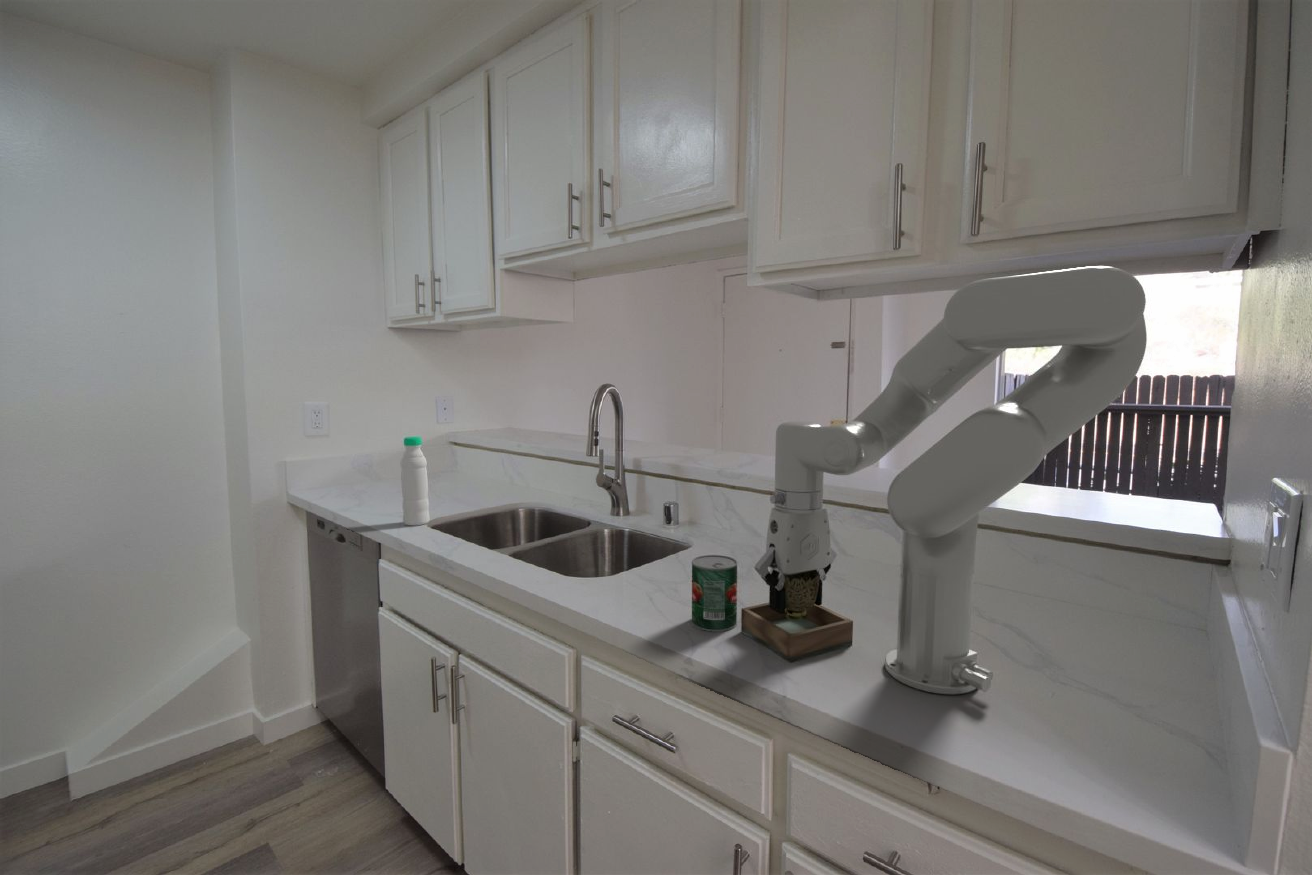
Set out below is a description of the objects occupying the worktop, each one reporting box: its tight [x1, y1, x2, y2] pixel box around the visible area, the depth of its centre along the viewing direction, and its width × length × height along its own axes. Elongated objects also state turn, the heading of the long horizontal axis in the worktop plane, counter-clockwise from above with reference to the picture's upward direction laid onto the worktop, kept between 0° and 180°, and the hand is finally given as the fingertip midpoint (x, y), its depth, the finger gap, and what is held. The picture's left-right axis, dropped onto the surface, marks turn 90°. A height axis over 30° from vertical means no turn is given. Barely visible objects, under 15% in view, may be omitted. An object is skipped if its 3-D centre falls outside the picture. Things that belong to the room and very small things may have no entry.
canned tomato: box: [691, 554, 739, 633], centre depth 107 cm, size 8×8×11 cm
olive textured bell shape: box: [776, 570, 820, 620], centre depth 101 cm, size 8×7×8 cm
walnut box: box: [740, 602, 854, 663], centre depth 101 cm, size 13×13×4 cm
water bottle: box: [400, 436, 431, 527], centre depth 178 cm, size 7×7×25 cm
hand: (795, 605), depth 101 cm, fingers closed on olive textured bell shape, 6 cm apart
